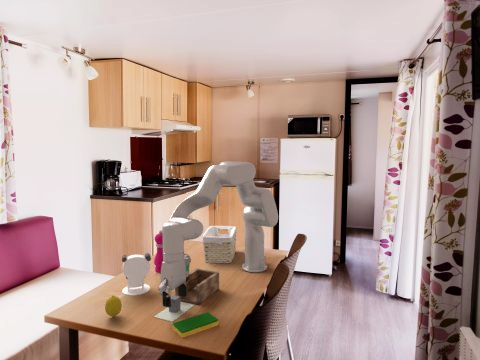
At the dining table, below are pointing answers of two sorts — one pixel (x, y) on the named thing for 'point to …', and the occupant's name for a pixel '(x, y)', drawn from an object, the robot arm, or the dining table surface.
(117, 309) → the lemon
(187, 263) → the food container
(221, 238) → the storage basket
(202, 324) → the dish sponge
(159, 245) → the pepper mill
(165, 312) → the cover plate
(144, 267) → the panda figurine
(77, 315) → the dining table surface
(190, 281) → the slide box
